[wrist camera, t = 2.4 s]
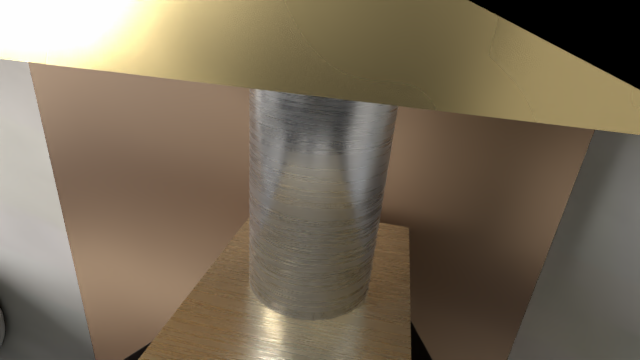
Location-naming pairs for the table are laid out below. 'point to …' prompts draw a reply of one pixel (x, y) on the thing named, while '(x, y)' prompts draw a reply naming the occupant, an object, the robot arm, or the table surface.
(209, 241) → the copper board
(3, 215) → the table surface
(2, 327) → the travel mug
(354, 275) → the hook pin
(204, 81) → the gold slab
